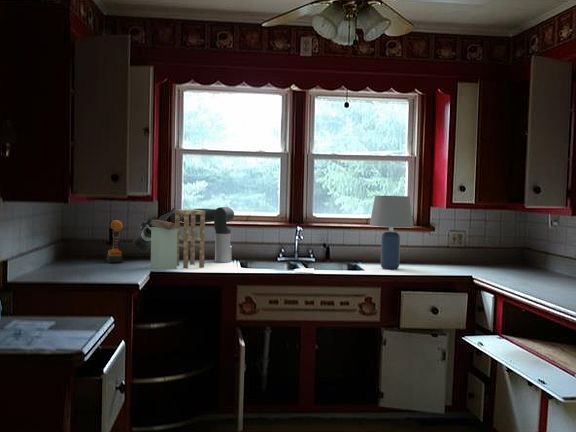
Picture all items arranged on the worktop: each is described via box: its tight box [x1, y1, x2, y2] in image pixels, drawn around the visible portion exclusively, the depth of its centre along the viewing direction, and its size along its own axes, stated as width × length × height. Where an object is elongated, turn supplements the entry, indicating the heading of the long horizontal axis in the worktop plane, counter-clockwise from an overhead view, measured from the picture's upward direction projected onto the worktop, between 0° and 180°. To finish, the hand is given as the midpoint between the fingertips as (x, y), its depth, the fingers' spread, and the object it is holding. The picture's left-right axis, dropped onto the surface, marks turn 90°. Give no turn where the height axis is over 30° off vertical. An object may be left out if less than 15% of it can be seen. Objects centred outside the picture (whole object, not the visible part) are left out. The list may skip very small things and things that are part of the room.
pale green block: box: [150, 227, 178, 270], centre depth 321 cm, size 11×15×22 cm
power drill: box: [106, 218, 123, 264], centre depth 342 cm, size 22×7×25 cm, turn 25°
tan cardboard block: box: [151, 219, 175, 230], centre depth 323 cm, size 4×28×4 cm, turn 32°
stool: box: [175, 208, 206, 269], centre depth 329 cm, size 12×16×32 cm
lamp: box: [369, 195, 414, 271], centre depth 341 cm, size 25×25×43 cm
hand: (157, 220), depth 330 cm, fingers open, 8 cm apart
